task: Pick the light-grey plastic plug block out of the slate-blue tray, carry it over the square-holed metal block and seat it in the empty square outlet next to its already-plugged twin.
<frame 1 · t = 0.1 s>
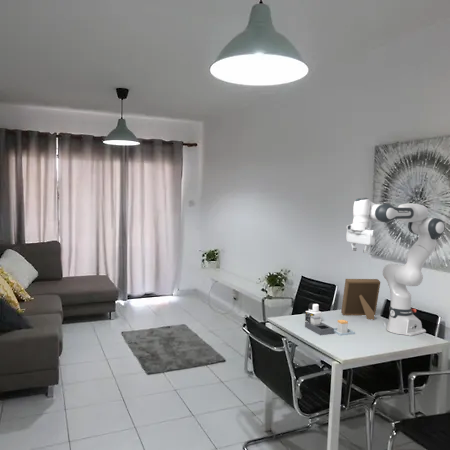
hand: (359, 251, 233), 48 cm above the table, fingers open, 8 cm apart
tray: (342, 333, 240), on the table
photo frame: (361, 317, 276), on the table
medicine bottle: (313, 323, 261), on the table
plug: (342, 332, 240), resting on tray
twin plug: (315, 328, 246), resting on square-holed metal block
square-holed metal block: (318, 331, 243), on the table
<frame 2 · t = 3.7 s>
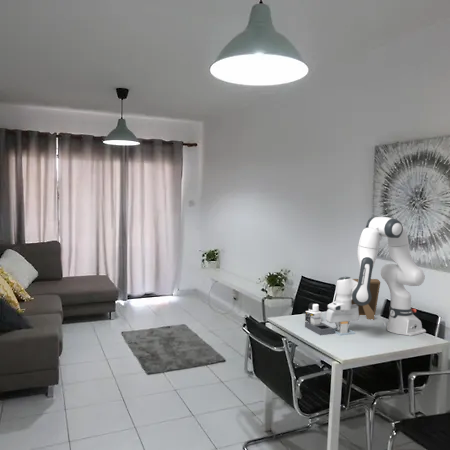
hand: (342, 329, 240), 3 cm above the table, fingers closed on plug, 4 cm apart
plug: (342, 332, 240), resting on tray, touching gripper
everything else where it was.
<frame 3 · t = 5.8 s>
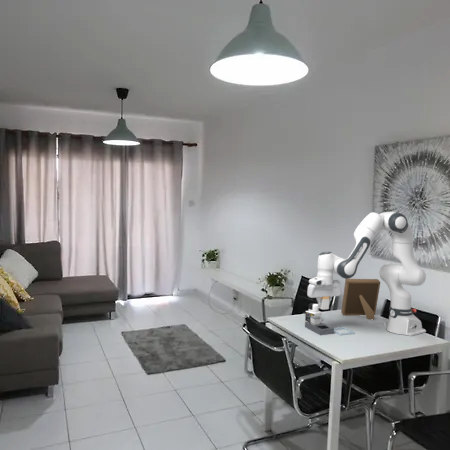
hand: (323, 304, 238), 17 cm above the table, fingers closed on plug, 4 cm apart
plug: (323, 308, 238), point 15 cm above the table, touching gripper
everything else where it was.
when the fingers open (5 cm above the table, at t = 7.9 s): plug drops 1 cm, resting on square-holed metal block.
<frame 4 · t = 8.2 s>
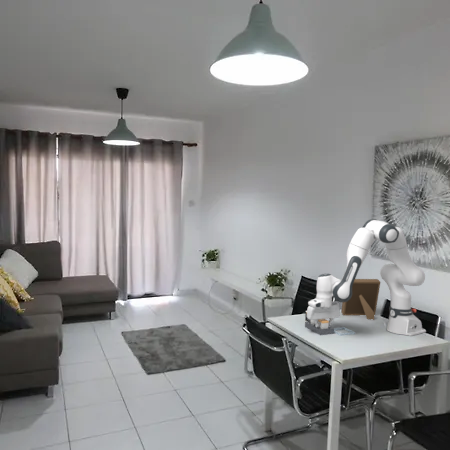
hand: (323, 326, 239), 5 cm above the table, fingers open, 7 cm apart
plug: (323, 332, 239), point 1 cm above the table, touching square-holed metal block
everything else where it was.
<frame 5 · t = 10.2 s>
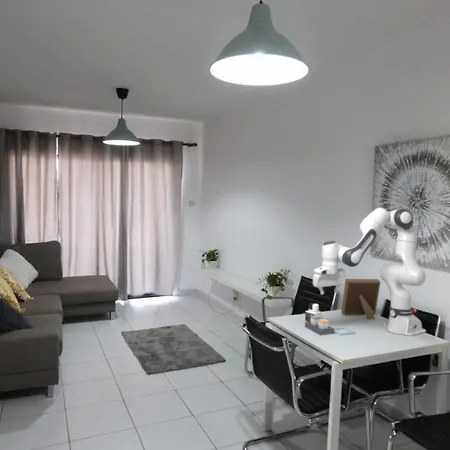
hand: (329, 293, 241), 23 cm above the table, fingers open, 8 cm apart
nothing on the table moved.
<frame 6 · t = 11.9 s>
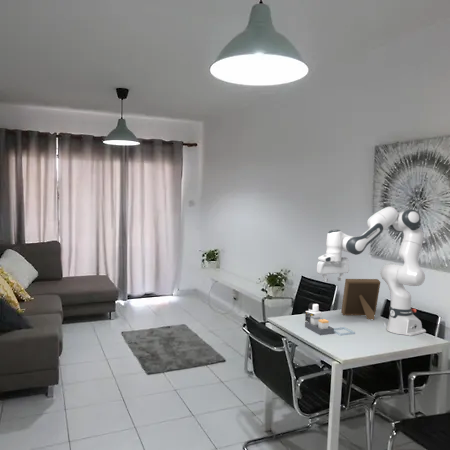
hand: (332, 281, 245), 29 cm above the table, fingers open, 8 cm apart
nothing on the table moved.
at the end: plug 0.1 cm from the target spot on the square-holed metal block, point 1.0 cm above the square-holed metal block's base; plug tilted 0°; the gripper is holding nothing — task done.
